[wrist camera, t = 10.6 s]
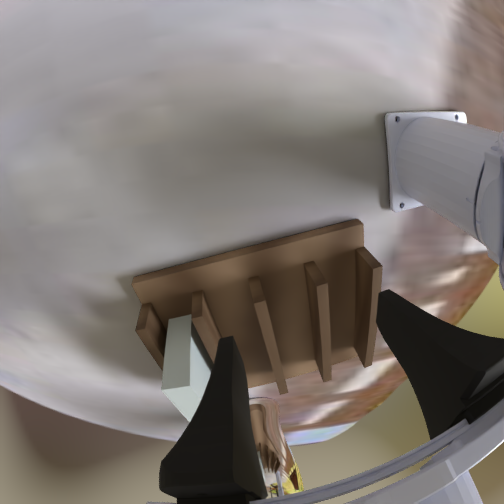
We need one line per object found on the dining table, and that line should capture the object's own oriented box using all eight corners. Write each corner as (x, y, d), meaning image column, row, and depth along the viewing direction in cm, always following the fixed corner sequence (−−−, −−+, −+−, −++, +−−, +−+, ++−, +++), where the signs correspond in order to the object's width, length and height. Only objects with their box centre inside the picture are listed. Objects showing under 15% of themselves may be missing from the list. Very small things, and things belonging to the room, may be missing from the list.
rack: (357, 218, 21) (383, 241, 18) (355, 349, 29) (369, 375, 25) (134, 277, 21) (122, 309, 17) (200, 390, 29) (201, 420, 25)
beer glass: (234, 394, 30) (251, 514, 17) (289, 394, 31) (320, 503, 18) (224, 420, 33) (237, 521, 20) (273, 420, 34) (295, 514, 21)
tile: (191, 314, 22) (189, 385, 16) (220, 371, 26) (226, 433, 20) (168, 319, 22) (161, 390, 16) (201, 375, 26) (203, 436, 20)
